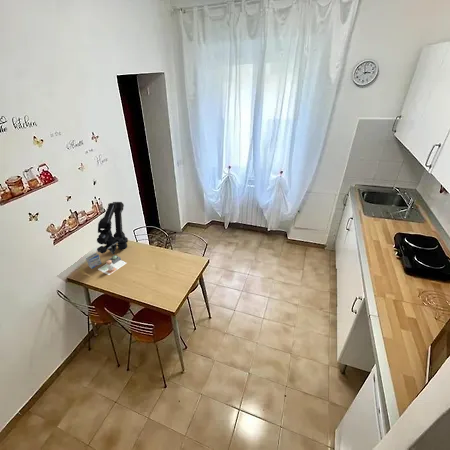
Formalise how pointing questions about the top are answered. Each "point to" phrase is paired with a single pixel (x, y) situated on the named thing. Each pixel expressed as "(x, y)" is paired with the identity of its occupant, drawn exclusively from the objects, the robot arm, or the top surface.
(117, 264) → the board with colored squares
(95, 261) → the medicine box
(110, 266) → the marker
